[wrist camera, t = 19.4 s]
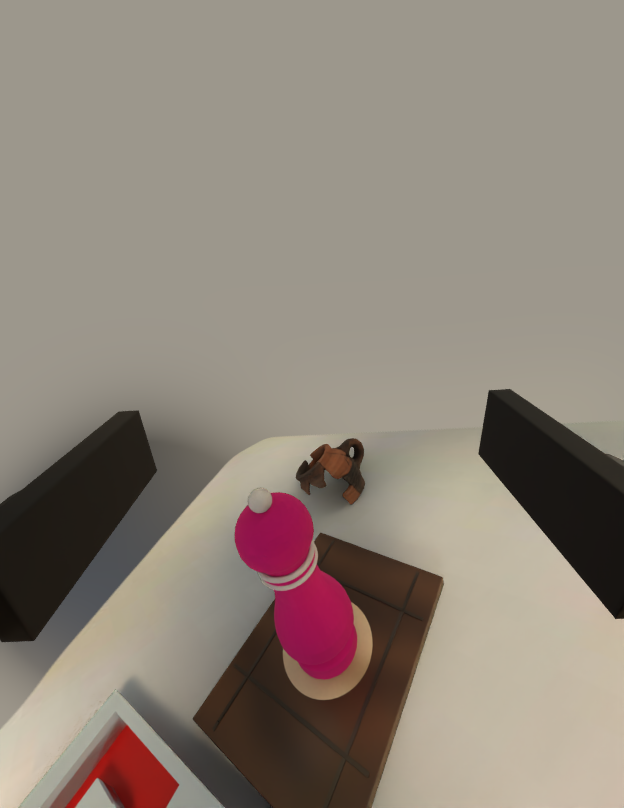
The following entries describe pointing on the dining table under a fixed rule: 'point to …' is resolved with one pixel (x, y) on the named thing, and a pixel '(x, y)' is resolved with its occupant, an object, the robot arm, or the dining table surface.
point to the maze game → (119, 768)
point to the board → (326, 690)
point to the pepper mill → (297, 583)
